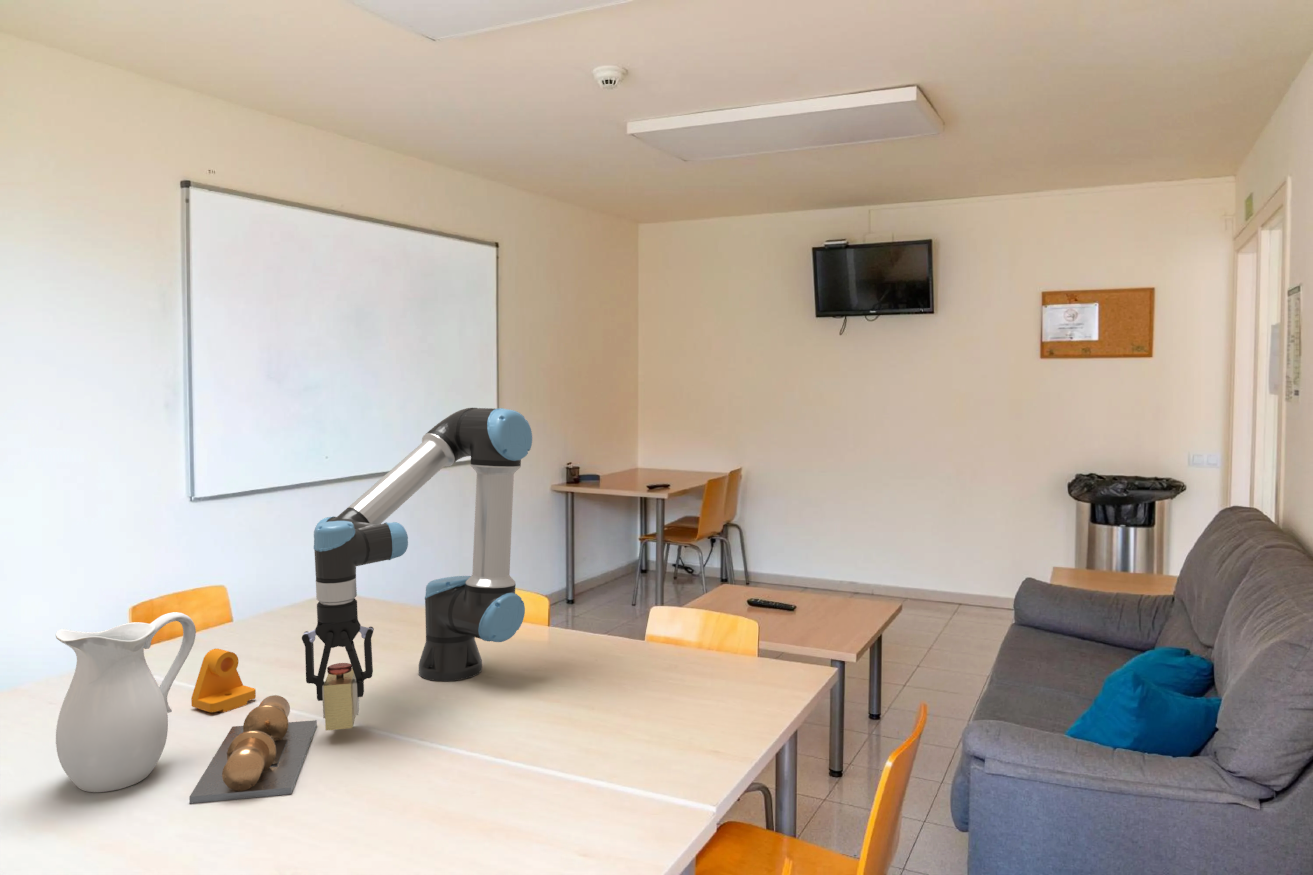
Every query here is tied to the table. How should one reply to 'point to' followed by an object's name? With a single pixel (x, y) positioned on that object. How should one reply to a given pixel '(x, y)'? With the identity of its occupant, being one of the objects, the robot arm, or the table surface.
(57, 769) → the table surface
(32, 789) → the table surface
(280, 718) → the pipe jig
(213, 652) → the bracket
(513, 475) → the robot arm
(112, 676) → the pitcher
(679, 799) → the table surface
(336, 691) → the valve
